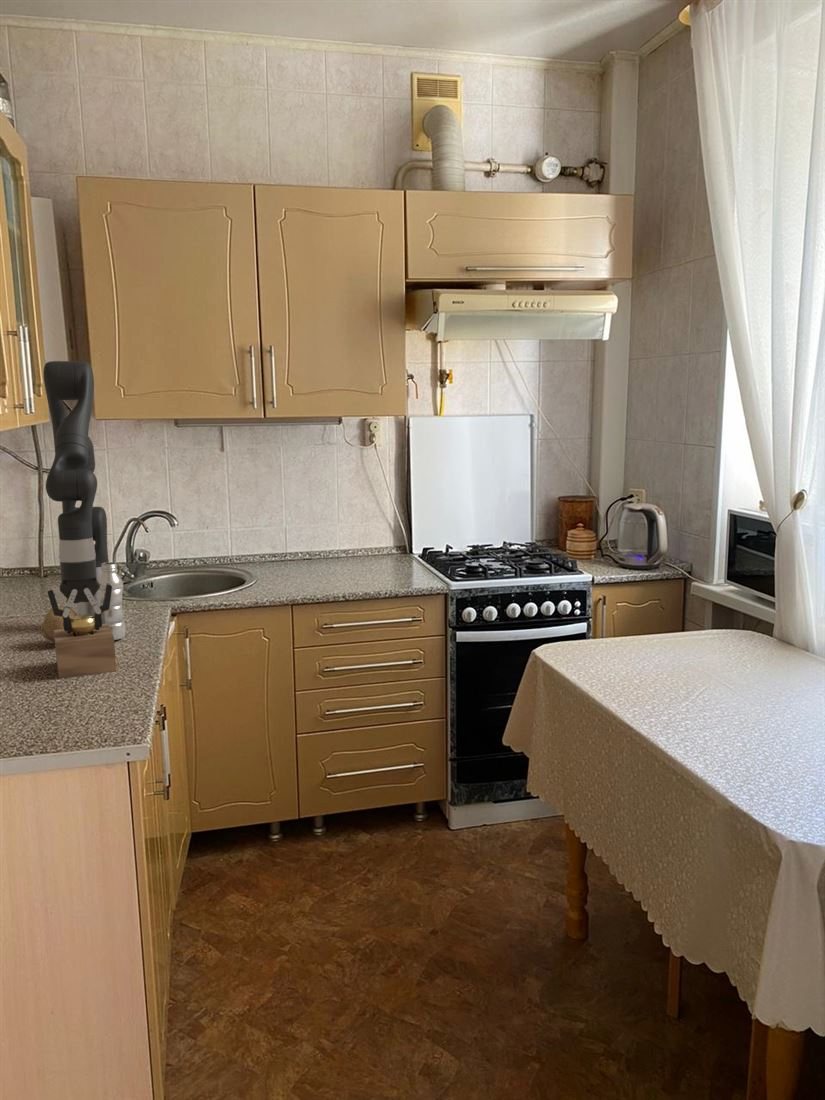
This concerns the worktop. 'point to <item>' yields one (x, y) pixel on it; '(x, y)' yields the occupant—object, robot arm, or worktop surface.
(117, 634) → the plastic bottle
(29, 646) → the worktop surface
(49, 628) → the natural sponge
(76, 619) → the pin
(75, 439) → the robot arm
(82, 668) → the block
